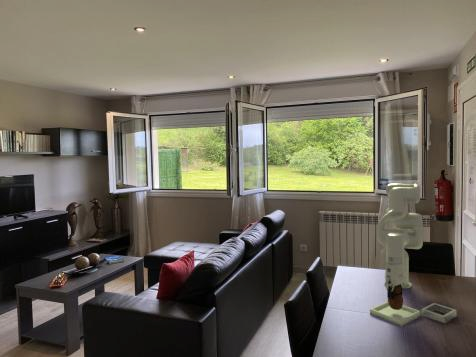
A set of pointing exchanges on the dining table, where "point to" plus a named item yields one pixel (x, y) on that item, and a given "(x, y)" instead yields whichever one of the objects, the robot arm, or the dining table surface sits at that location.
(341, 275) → the dining table surface
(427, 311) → the white square bin
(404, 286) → the robot arm
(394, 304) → the brown lumpy elongated piece
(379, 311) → the sage tray
